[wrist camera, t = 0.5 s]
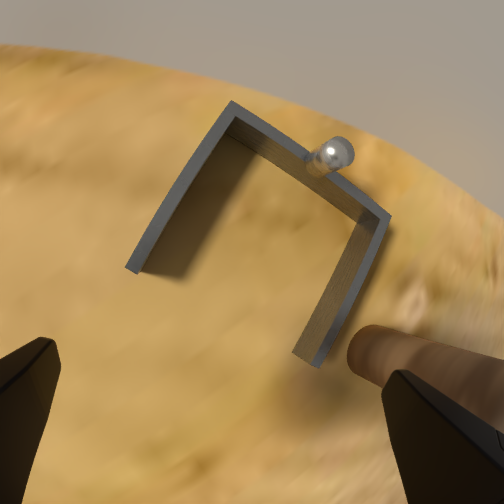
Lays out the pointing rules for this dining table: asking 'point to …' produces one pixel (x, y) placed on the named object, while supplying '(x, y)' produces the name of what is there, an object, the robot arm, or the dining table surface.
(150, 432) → the dining table surface
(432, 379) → the peg
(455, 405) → the robot arm
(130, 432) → the dining table surface
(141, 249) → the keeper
